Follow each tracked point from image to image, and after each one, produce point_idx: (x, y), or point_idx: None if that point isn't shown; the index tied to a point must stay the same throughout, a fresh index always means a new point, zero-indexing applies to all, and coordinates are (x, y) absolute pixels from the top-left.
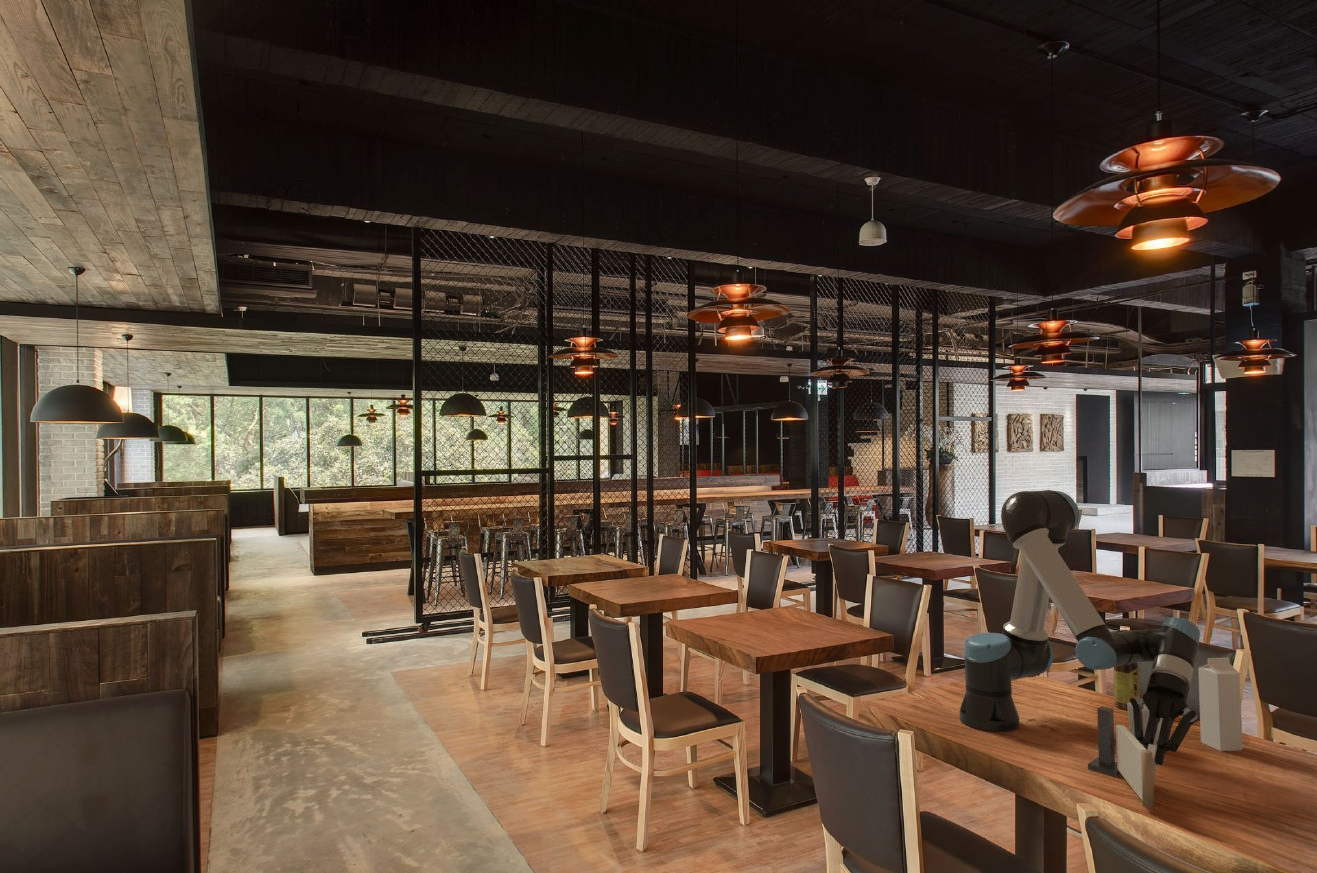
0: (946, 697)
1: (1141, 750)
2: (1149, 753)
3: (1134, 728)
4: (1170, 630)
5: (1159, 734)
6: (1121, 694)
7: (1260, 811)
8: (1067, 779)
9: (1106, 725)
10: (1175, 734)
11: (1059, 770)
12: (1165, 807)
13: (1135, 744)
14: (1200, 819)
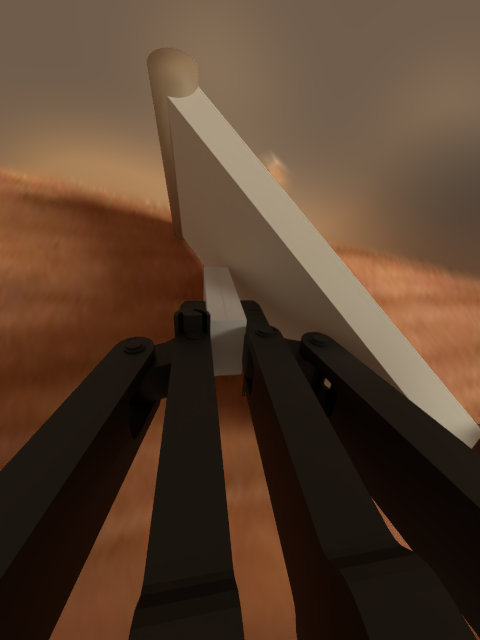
0: None
1: (197, 69)
2: (156, 52)
3: (369, 369)
4: None
5: (211, 375)
6: None
7: None
8: (372, 282)
9: None
10: (89, 409)
11: (411, 320)
12: (166, 288)
13: (258, 167)
14: (83, 278)
